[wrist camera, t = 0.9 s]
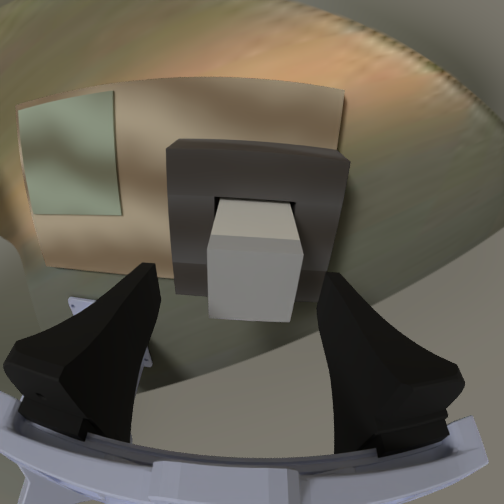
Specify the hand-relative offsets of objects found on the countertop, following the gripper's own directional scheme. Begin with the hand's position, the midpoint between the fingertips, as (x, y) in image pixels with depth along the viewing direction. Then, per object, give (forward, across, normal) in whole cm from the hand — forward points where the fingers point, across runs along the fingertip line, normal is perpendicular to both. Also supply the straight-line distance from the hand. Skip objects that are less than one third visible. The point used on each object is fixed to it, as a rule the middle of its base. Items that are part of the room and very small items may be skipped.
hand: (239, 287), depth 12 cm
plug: (+9, -1, +1) cm, 9 cm away
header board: (+9, +6, -1) cm, 11 cm away
